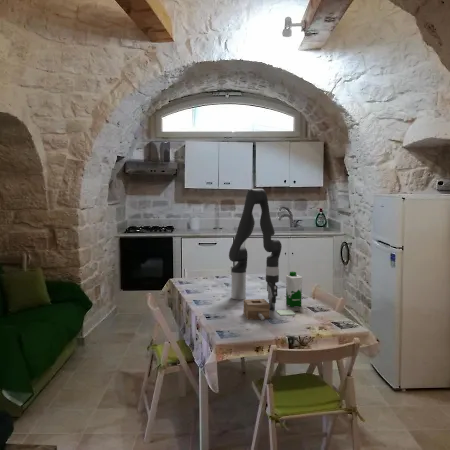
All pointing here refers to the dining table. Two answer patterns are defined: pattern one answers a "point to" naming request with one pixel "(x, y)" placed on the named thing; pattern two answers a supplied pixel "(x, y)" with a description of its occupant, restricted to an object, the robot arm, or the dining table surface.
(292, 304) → the milk carton
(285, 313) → the pad
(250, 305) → the brown wooden block
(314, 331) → the dining table surface
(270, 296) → the key peg
